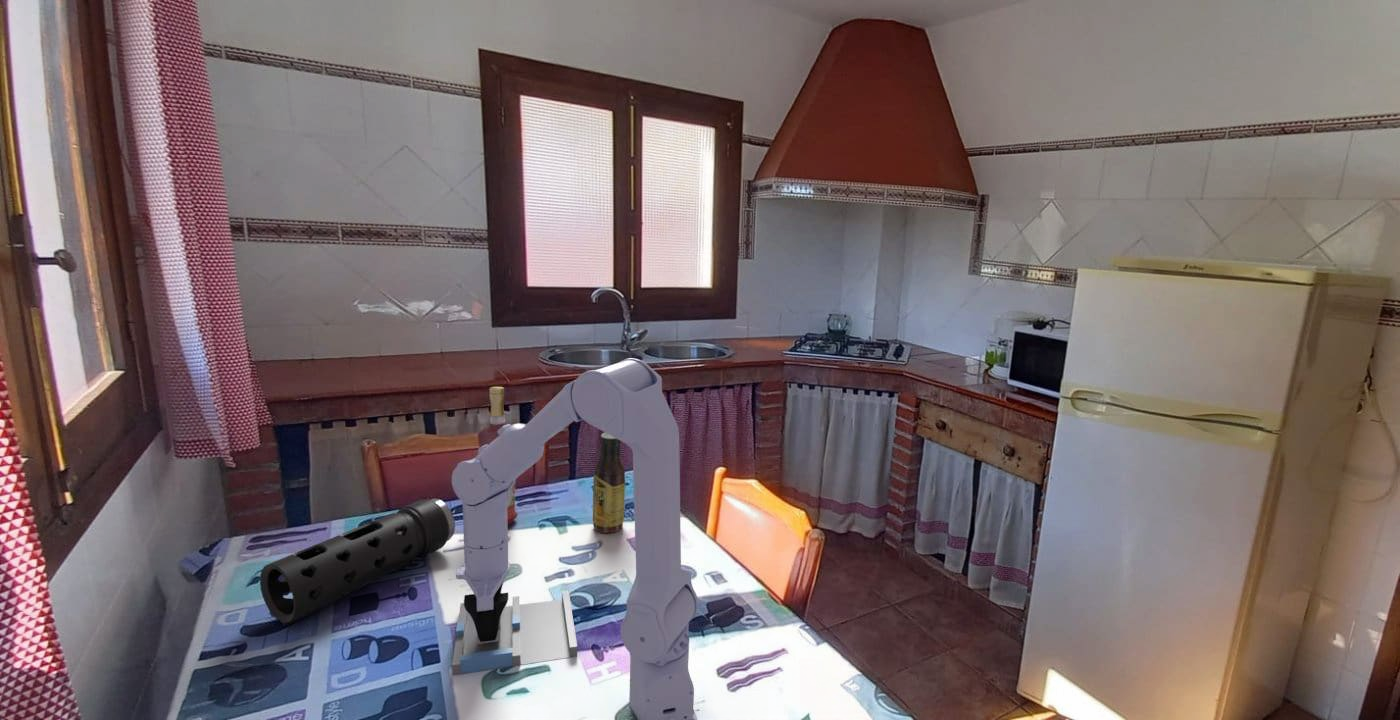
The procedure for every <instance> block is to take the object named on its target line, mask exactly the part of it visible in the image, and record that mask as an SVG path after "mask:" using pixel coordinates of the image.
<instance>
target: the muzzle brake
mask: <svg viewBox="0 0 1400 720" xmlns="http://www.w3.org/2000/svg"><path fill="white" fill-rule="evenodd" d="M455 530H456V522H455V518H454V514H453V512H452V510H451V509H450V507H449V506H448V505H447V503H445V502H444V501H443V500H442V499H439V498H432V499H427V498H426V499H425V498H424V499H419V500H417V501H415V502H412V503H410V504H407V505H405V506H402V507H401V508H400V509H398V510H397V511H396V512H394V513H393V512H392V513H390V514H387V515H385V516H382V517H380V518H377V519H375V520H373V521H369V522H368V523H365V524H362V525H360V526H358V527H356V528H355V527H354V528H353V529H351V530H348V531H346V532H344V533H341V534H337V535H336V536H334V537H330V538H329V539H326V540H324V541H321V542H319V543H316V544H314V545H312V546H309V547H307V548H304V549H302V550H299V551H297V552H295V553H292V554H290V555H289V554H288V555H287V556H285V557H282V558H280V559H278V560H275V561H273V562H270V563H267V564H265V565H264V566H263V567H262V568H261V569H262V570H261V572H260V576H259V582H260V583H259V584H260V590H261V591H260V592H261V596H262V598H263V602H264V603H265V605H266V607H267V609H268V610H269V612H270V613H271V614H272V616H273V617H274V618H275V619H276V620H279V622H280V623H282V625H285V626H290V625H291V624H294V623H296V622H298V621H300V620H302V619H304V618H306V617H307V616H310V615H311V614H313V613H315V612H317V611H319V610H321V609H324V608H325V607H328V606H330V605H331V604H334V603H335V602H337V601H340V600H341V599H343V598H345V597H347V596H348V595H349V594H350V593H352V592H354V591H356V590H361V589H363V588H364V587H365V586H366V585H368V584H369V583H372V582H373V581H375V580H377V579H380V578H381V577H383V576H384V577H385V576H386V575H387V574H390V573H392V572H393V571H394V572H400V571H401V570H403V569H405V568H408V567H409V566H411V565H413V564H414V563H415V560H416V559H419V558H420V559H422V558H425V557H427V556H428V555H431V554H433V553H435V552H436V551H439V550H441V549H442V548H444V546H445V545H446V543H447V542H448V541H450V540H451V539H452V538H453V536H454V534H455ZM281 576H283V577H284V578H283V580H279V578H280V577H281ZM289 594H291V595H292V598H288V597H287V598H286V597H284V596H289Z"/></svg>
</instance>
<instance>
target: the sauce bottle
mask: <svg viewBox="0 0 1400 720" xmlns="http://www.w3.org/2000/svg"><path fill="white" fill-rule="evenodd" d="M599 441H600V453H599V454H600V456H599V457H598V460H597V463H596V465H595V468H594V471H593V487H592V522H593V523H592V524H593V528H594V530H595V531H597V532H598V533H600V534H612V533H616V532H618V531H620V530H622V529H623V525H624V518H625V517H624V516H625V514H624V513H625V497H626V495H625V492H626V478H625V477H626V473H625V472H626V466H625V464H624V462H623V460H622V458H621V457H620V456H621V443H622V441H620V440H618V439H616V438H615V437H613V436H611V435H609V434H607V433H605V432H602V433H601V435H600V439H599Z"/></svg>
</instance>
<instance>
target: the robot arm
mask: <svg viewBox="0 0 1400 720" xmlns="http://www.w3.org/2000/svg"><path fill="white" fill-rule="evenodd" d="M662 382H663V379H662V376H661V375H660V374H658V372H656V371H655V370H654V369H653V368H651V367H650V365H648V363H646V362H645V361H643V360H641V359H638V358H635V357H633V358H632V357H631V358H630V357H628V358H625V359H623V360H621V361H619V362H617V363H614V364H613V363H612V364H611V365H607V366H604V367H601V368H598V369H591V370H587V371H585V372H583V373H581V374H579V376H578V377H576V379H575V380H572V381H571V382H569V383H567V384H565V386H563V388H562V389H561V390H560V391H559V392H558V393H557V394H556V395H555V396H554V397H553V398H551V400H550V401H548V403H547V404H546V405H545V406H544V407H543V408H541V410H540V411H538V412H537V414H536V415H534V416H533V417H532V418H531V419H530V420H529V421H528V422H527V423H514V424H509V423H508V424H505V425H506V426H503V427H501V428H500V429H499V430H498V431H497V432H498V434H499V436H498V437H497V438H496V439H495V440H494V441H493V442H491V443H490V444H489V445H484V446H482V447H481V448H479V447H478V449H477V453H478V454H477V455H476V457H474V458H472V459H469V460H462V461H461V462H458V463H457V465H456V467H455V468H454V469H453V471H452V473H451V485H452V489H453V492H454V493H455V495H456V496H457V498H458V499H459V501H461V502H462V521H463V523H462V524H463V526H462V527H463V547H464V549H463V550H464V554H463V555H464V566H461V567H458V568H456V572H455V579H456V580H464V581H465V582H466V583H467V585H468V586H469V588H470V591H472V594H465V595H464V596H463V603H464V607H465V609H466V611H467V612H468V613H469V614H470V616H471V617H472V619H473V621H474V624H475V628H476V631H477V635H478V638H479V640H480V642H486V641H493V640H496V637H497V633H498V627H499V621H500V617H501V614H502V611H503V609H504V607H507V604H508V601H509V592H503V593H502V589H503V585H504V582H505V580H506V579H507V577H508V576H509V574H510V571H511V564H510V563H509V535H508V533H509V532H508V531H509V530H508V527H509V526H508V524H507V501H508V499H510V489H511V487H512V486H513V485H514V483H515V484H516V480H517V478H519V477H520V476H521V475H522V474H524V473H525V472H526V471H527V470H528V469H530V468H531V467H532V466H533V465H535V464H536V463H537V462H539V460H540V459H542V457H543V454H544V453H545V452H544V450H545V446H544V444H545V443H547V441H549V440H550V439H552V438H553V437H555V436H556V435H558V434H559V433H560V432H561V431H563V430H564V429H565V428H566V427H568V426H569V425H570V424H572V423H573V422H575V423H579V422H581V421H585V423H588V425H590V426H592V427H594V428H597V429H598V430H600V431H602V433H607V434H609V435H611V436H613V437H615V438H616V439H618V440H620V441H621V443H624V444H626V445H627V446H628V447H629V448H630V449H631V450H632V468H633V469H632V470H633V472H632V473H633V474H632V475H633V478H632V479H633V503H634V506H633V507H634V510H633V512H634V540H635V541H634V543H635V546H634V547H635V548H634V549H635V578H634V580H633V583H632V586H631V588H630V591H629V593H628V596H627V599H626V611H625V616H623V617H624V618H623V619H622V621H621V624H620V631H619V634H620V638H621V641H622V643H623V645H624V647H625V649H626V650H627V651H628V653H629V657H630V658H629V659H630V663H629V699H628V700H629V706H630V709H631V710H632V712H633V714H635V716H636V718H637V719H635V720H698V718H697V716H696V713H695V711H694V704H695V703H694V699H695V688H694V683H693V680H692V678H691V675H690V671H689V656H690V655H689V653H690V632H689V624H690V622H691V621H693V620H692V619H694V618H695V616H696V614H698V613H697V612H698V609H699V599H698V596H697V595H698V594H697V593H696V591H695V589H694V587H693V584H692V572H691V571H689V569H687V568H685V567H684V566H682V555H681V554H682V548H681V546H682V544H681V543H682V542H681V540H682V539H681V537H682V535H681V476H680V473H681V472H680V471H681V469H680V467H681V466H680V465H681V464H680V431H679V426H678V423H677V421H676V419H675V417H674V414H673V412H672V410H671V408H670V406H669V404H668V401H667V399H666V397H665V395H664V393H663V383H662Z"/></svg>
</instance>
